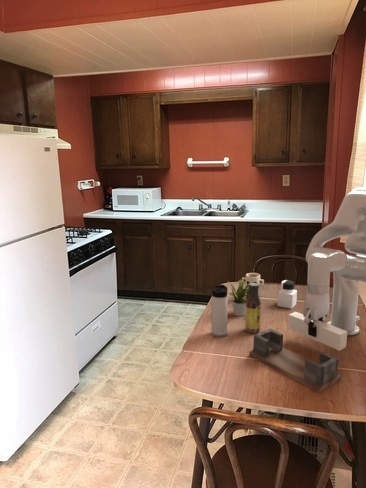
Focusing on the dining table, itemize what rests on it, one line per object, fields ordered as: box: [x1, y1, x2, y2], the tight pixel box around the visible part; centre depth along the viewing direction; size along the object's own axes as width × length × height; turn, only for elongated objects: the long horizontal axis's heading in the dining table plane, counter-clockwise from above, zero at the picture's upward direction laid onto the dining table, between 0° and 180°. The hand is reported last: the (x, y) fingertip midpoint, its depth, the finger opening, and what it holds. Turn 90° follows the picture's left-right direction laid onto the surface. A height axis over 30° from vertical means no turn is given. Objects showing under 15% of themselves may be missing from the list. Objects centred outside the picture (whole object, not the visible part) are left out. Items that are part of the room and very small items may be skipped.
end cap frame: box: [248, 328, 342, 394], centre depth 134 cm, size 12×29×8 cm, turn 37°
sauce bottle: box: [244, 283, 262, 334], centre depth 160 cm, size 7×6×20 cm
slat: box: [288, 311, 348, 352], centre depth 146 cm, size 22×4×6 cm, turn 37°
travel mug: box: [210, 284, 229, 338], centre depth 157 cm, size 6×7×20 cm
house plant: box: [227, 279, 253, 317], centre depth 176 cm, size 14×14×16 cm
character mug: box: [241, 272, 265, 298], centre depth 194 cm, size 11×7×13 cm, turn 68°
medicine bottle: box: [277, 279, 298, 310], centre depth 187 cm, size 7×7×12 cm
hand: (316, 333), depth 146 cm, fingers closed on slat, 4 cm apart
